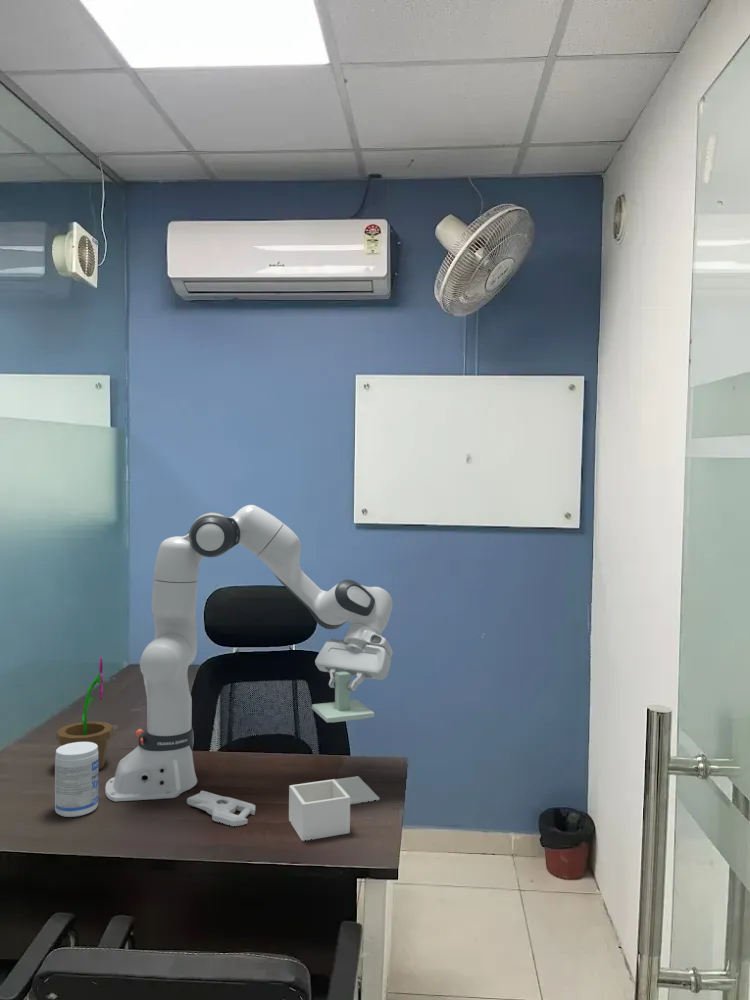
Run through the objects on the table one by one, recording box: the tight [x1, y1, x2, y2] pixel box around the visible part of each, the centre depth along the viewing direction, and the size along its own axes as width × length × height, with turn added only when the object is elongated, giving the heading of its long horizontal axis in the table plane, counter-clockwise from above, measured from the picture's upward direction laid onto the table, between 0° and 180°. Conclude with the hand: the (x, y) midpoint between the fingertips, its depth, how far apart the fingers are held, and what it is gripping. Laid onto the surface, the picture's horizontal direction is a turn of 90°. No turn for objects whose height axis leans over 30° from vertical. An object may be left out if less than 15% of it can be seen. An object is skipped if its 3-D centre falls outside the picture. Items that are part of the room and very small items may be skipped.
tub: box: [288, 778, 351, 842], centre depth 167 cm, size 11×11×8 cm
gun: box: [186, 789, 256, 828], centre depth 173 cm, size 18×3×10 cm
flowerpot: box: [55, 656, 114, 771], centre depth 200 cm, size 14×14×30 cm
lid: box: [311, 671, 375, 724], centre depth 186 cm, size 12×12×11 cm
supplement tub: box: [54, 742, 99, 818], centre depth 173 cm, size 10×10×15 cm
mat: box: [334, 775, 380, 805], centre depth 186 cm, size 15×15×1 cm
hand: (341, 688), depth 185 cm, fingers closed on lid, 4 cm apart
